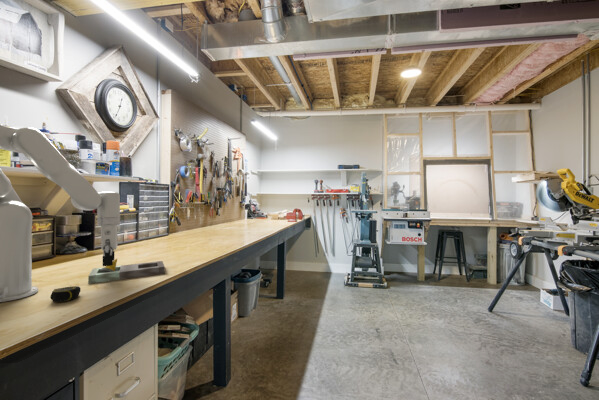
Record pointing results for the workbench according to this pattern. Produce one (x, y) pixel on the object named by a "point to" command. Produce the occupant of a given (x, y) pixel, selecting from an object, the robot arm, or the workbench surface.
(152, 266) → the block
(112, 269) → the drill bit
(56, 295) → the tape measure
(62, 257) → the workbench surface
